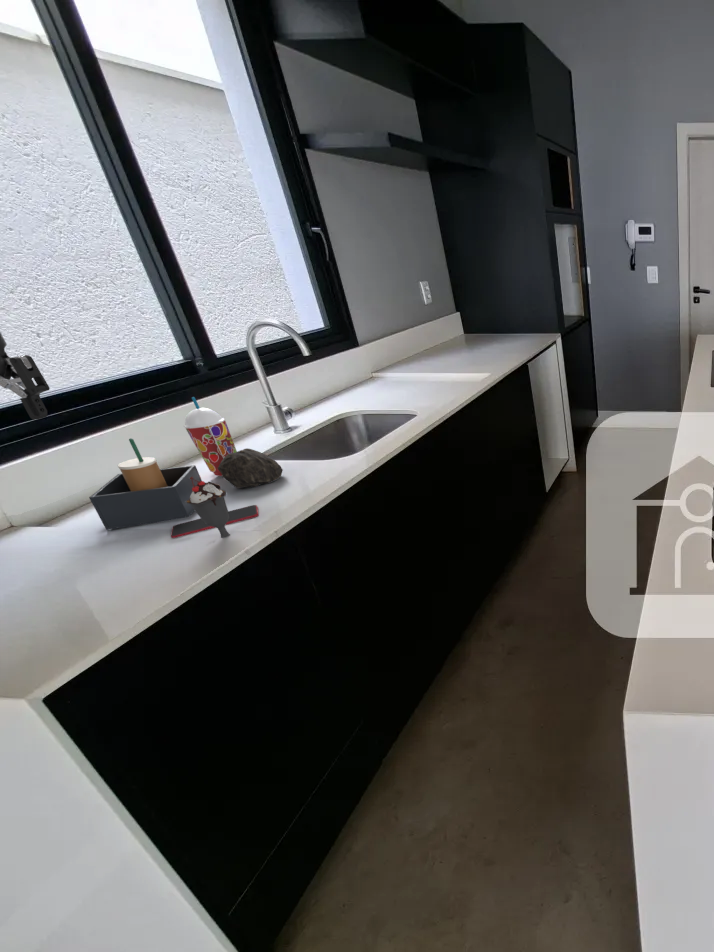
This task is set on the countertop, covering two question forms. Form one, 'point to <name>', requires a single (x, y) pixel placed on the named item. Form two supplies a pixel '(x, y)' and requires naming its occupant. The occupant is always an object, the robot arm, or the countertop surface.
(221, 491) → the sundae
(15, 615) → the countertop surface
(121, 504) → the bin
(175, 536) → the smartphone
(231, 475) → the rock
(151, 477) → the takeaway cup
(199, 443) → the smoothie
